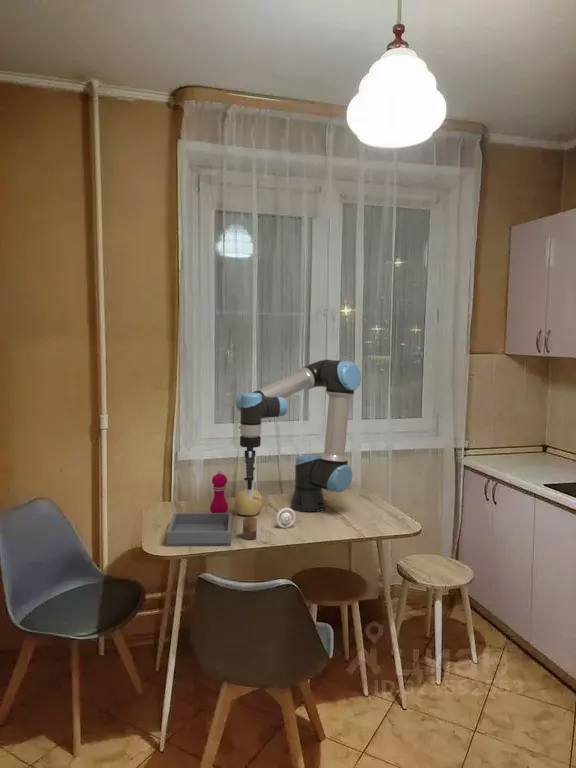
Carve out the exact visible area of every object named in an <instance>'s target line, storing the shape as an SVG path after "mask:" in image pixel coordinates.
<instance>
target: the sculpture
mask: <svg viewBox="0 0 576 768" xmlns="http://www.w3.org/2000/svg"><path fill="white" fill-rule="evenodd" d="M263 503H264V499H263V496H262V495H261V493H260V492H259V491H258V490H257V489H256V488H253V498H246V488H245V489H242V490H240V491H239V492H237V494H236V495H235V498H234V503H233V505H234V509H235V511H236V513H237V514H239V515H241V516H257V515H258V513H260V512H261V510H262V506H263Z"/></svg>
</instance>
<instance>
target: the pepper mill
mask: <svg viewBox="0 0 576 768" xmlns="http://www.w3.org/2000/svg"><path fill="white" fill-rule="evenodd" d="M222 473H223V472H222V470H217V472H216V474H215V475H213V477H212V478H211V479H212V480H211V483H212V485H213V487H212V489H213V492H214V494H213V495H214V496H213V499H212V502H211V504H210V508H209V510H210V513H228V511H229V505H228V502H227V500H226V497H225V491H226V490H227V489H226V485H227V483H228V479H227V476H226V475H225V474H222Z"/></svg>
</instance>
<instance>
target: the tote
mask: <svg viewBox="0 0 576 768" xmlns="http://www.w3.org/2000/svg"><path fill="white" fill-rule="evenodd" d="M232 521H233V513H232V512H226V513H212V512H173V514H172V517H171V519H170V522H169V526H168V527H167V531H166V547H231V545H232V526H233V525H232V523H233V522H232Z"/></svg>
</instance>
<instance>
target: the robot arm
mask: <svg viewBox="0 0 576 768" xmlns="http://www.w3.org/2000/svg"><path fill="white" fill-rule="evenodd" d="M361 382H362V373H361V370H360V368H359V366H358V365H357V364H356V363H355V362H353V361H348V360H337V359H336V360H335V359H334V360H333V359H322V360H318V361H315V362H313V363H310V364H308V365H306V366H303V367H301V368H299V370H298V371H297V372H295V373H293V374H291V375H289V376H286V377H284V378H281V379H280V380H277V381H275V382H273V383H270V384H267V385H266V386H263V387H262V388H259V389H257V390H254V391H252V392H242V393H240V394H239V395H237V397H236V399H235V406H236V409H237V410H238V411H239V413H240V414H239V416H240V418H239V419H240V425H239V426H238V429H239V430H240V432H239V433H240V436H239V446H240V447H242V448H246V450H244V457H245V458H244V463H245V477H244V478H243V480H244V481H245V489H246V498H253V489H254V478H255V477H254V471H255V470H256V469H255V468H256V467H254V466H255V465H254V464H255V462H256V456H257V454H256V452H257V451H256V450H254V448H260V447H261V442H262V440H261V439H262V438H261V435H262V419H266V418H267V419H268V418H280V417H283V416H285V415H286V414H287V412H288V402H287V400H286V398H288V397H290V396H293V395H294V394H297V393H300V392H301V391H303V390H305V389H307V390H311V389H313V388H318V387H320V388H321V387H323V388H325V393H326V395H327V396H328V404H327V405H328V406H327V416H326V428H325V437H324V438H325V439H324V447H323V448H324V449H323V454H320V453H316V454H315V453H313V454H302V455H298V456H297V457H296V459H295V465H294V466H295V468H294V469H295V472H294V473H295V475H294V476H295V477H294V478H295V481H294V483H295V484H294V492H293V495H292V497H291V500H290V508H291V507H292V508H293V509H292V508H291V509H292V510H294V509H295V510H294V511H297V510H300V511H299V512H301V511H318V510H321V509H324V508H325V509H326V500H325V496H324V494H323V489H324V490H326V491H330V492H335V493H341V492H344V491H346V489H347V488H348V487H349V486H350V484H351V482H352V480H353V470H352V468H351V467H350V466H349V465H348V461H349V460H348V458H347V456H346V455H345V454H346V443H347V433H348V432H347V431H348V421H349V409H350V399H351V398H352V397H353V396H354V394H355V391H356V390H358V388H359V386H360V385H361ZM325 509H324V510H325ZM318 512H319V511H318Z"/></svg>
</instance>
